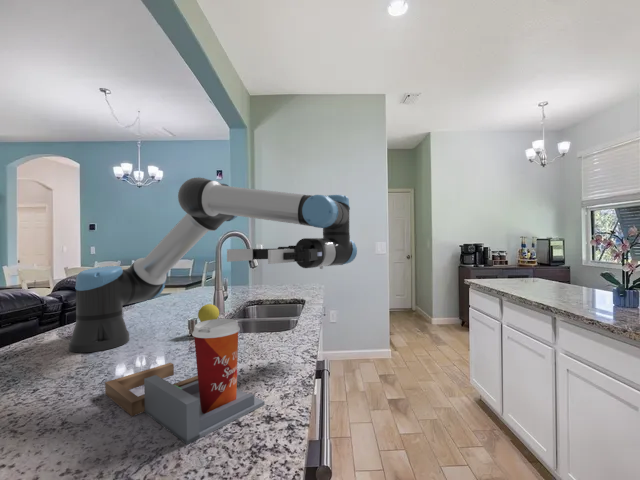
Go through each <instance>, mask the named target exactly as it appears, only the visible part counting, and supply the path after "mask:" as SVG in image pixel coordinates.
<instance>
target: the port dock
mask: <svg viewBox="0 0 640 480" xmlns="http://www.w3.org/2000/svg"><path fill="white" fill-rule="evenodd" d="M173 384H174V383H171V382H169V381H167V380H165V379H164V378H160V377H158V376H157V375H154V376H151V377H148V378H145V379H144V385H143V388H144V394H143V395H145V412H144V414H146V415H147V416H149V417H150V418H151V419H153V420H154V421H155V422H156V423H158V424H159V425H160V426H162V427H163V428H164V427H165V430H167V429H168V430H169V431H168V430H167V431H168V432H169V433H171V434H172V433H173V435H174V436H175V437H176V438H177V437H178V439H179V440H180V441H181V440H182V441H181V442H183V443H184V444H185V445H188V446H189V444H192V443H194V442H195V441H198V440H199V439H202V438H204V437H205V436H207V435H209V434H211V433H213V432H214V431H216V430H218V429H221V428H222V427H224V426H226V425H228V424H230V423H232V422H234V421H236V420H237V419H239V418H241V417H243V416H245V415H248V414H249V413H252V412H253V411H255V410H257V409H259V408H260V407H263V406H264V405H266V404H265V403H266V402H265V400H263V399H261V398H258V397H256V396H255V394H253V393H251V392H249V393H248V392H245V391H243V390H241V389H239V388H237V393H236V400H234V401H231V402H229V403H227V404H225V405H223V406H221V407H218V408H216V409H214V410H212V411H210V412H208V413H206V414H203V413H202V411H201V404H200V395H199V384H198V381H195V382H192V383H190V384H187V385H184V386H182V387H178V386H176V385H173Z"/></svg>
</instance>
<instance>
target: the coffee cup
mask: <svg viewBox="0 0 640 480" xmlns="http://www.w3.org/2000/svg"><path fill="white" fill-rule="evenodd" d="M238 324H239V323H238V321H237V320H236V319H232V318H218V319H213V320H207V321H203V322H201V321H200V322H198V323H195V325H194V328H193V331H192V332H191V335H192V336H193V339H194V350H195V361H196V371H197V375H198V384H199V395H200V404H201V411H202V413H203V414H206V413H208V412H210V411H212V410H214V409H216V408H218V407H221V406H223V405H225V404H227V403H229V402H231V401H234V400H236V393H237V389H238V386H237V385H238V362H239V361H238V360H239V359H238V354H239V350H238V349H239V331H240V330H241V327H240V326H239V325H238Z"/></svg>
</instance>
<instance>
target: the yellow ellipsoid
mask: <svg viewBox="0 0 640 480" xmlns="http://www.w3.org/2000/svg"><path fill="white" fill-rule="evenodd" d="M219 316H220V309H219V308H218V306H216V305H215V304H212V303H211V304H210V303H208V304H205V305H202V306H201V307H200V308H199V310H198V313H197V319H199V321H200V322H203V321H207V320H213V319H219Z"/></svg>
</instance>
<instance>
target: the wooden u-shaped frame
mask: <svg viewBox="0 0 640 480" xmlns="http://www.w3.org/2000/svg"><path fill="white" fill-rule="evenodd" d="M174 365H175V364H174V363H172V362H169V363H165V364H162V365H161V364H160V365H157V366H154V367H152V368H148V369H144V370H142V371H138V372H135V373H131V374H128V375H125V376H121V377H118V378H115V379H112V380H108V381H105V382H104V388H105V391H104V393H105V395H106V396H107V397H108V398H109V399H111V400H112V401H113V402H114V403H115V404H117V405H118V406H119V407H120V408H121V409H122V410H124V411H125V412H126V413H127V414H128V415H129V416H130V417H134V416H136V415H137V416H138V415H139V414H142V413H145V395H144V394H141V395H139V396H138V395H136V394H135V393H134V392H132V391H131V389H135V388H138V387H140V386H144V379H145V378H148V377H151V376H154V375H157V376H158V377H160V378H162V379H164V378H168V377H171V376H173V375H175V374H174V373H175V366H174ZM195 381H198V374H197V375H195V376H192V377H188V378H187V379H186V378H185V379H183V380H180V381H178V382H175V383H172V384H173V385H176V386H178V387H182V386H184V385H187V384H190V383H192V382H195Z"/></svg>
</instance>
